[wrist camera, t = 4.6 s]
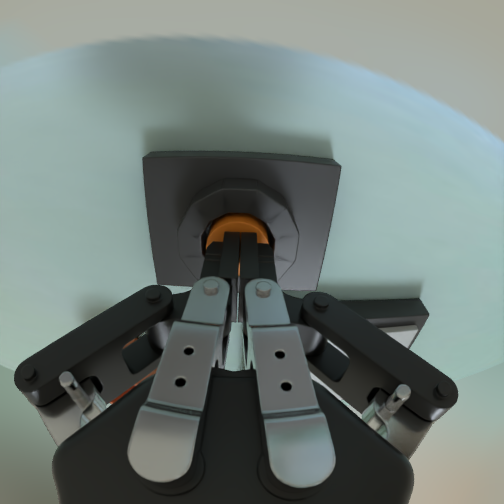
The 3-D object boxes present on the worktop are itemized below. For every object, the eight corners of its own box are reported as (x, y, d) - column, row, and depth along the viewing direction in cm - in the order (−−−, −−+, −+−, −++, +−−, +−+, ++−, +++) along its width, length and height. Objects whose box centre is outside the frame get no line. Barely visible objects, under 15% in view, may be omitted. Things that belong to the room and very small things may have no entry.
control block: (162, 272, 18) (150, 302, 16) (150, 151, 14) (130, 166, 11) (312, 277, 19) (321, 308, 16) (334, 159, 14) (352, 175, 12)
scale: (244, 386, 26) (244, 408, 24) (250, 299, 19) (251, 326, 17) (372, 379, 26) (379, 399, 24) (420, 298, 20) (433, 319, 18)
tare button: (210, 255, 16) (206, 274, 14) (209, 205, 14) (205, 220, 13) (264, 257, 16) (266, 277, 14) (269, 208, 14) (272, 223, 13)
